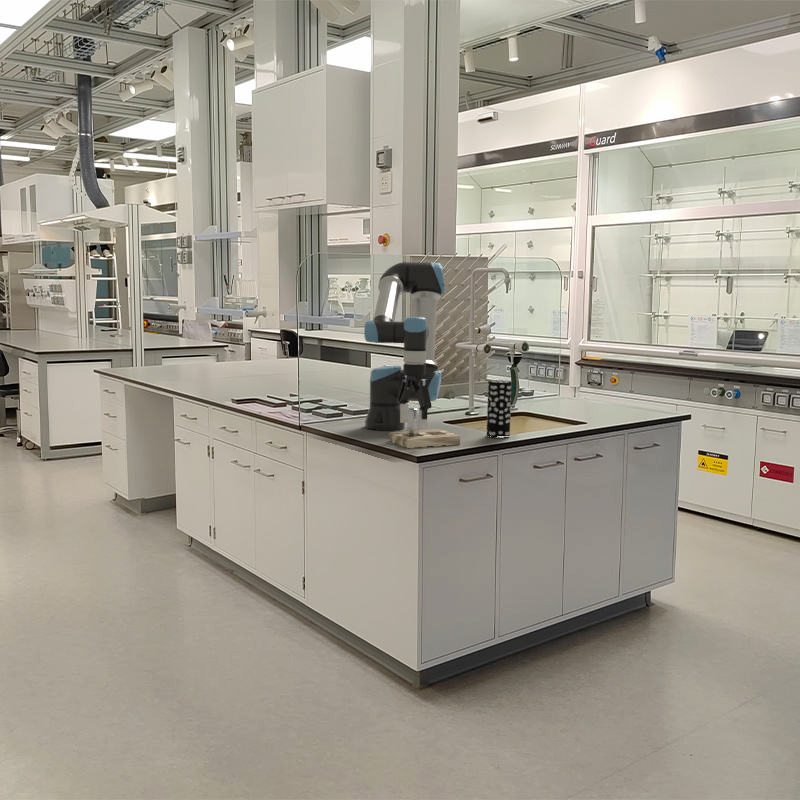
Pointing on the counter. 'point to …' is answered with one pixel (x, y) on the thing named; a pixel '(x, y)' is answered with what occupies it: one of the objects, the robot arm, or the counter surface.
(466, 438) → the counter surface
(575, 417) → the counter surface
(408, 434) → the peg
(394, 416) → the robot arm
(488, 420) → the spotted tube
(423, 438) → the hole block
